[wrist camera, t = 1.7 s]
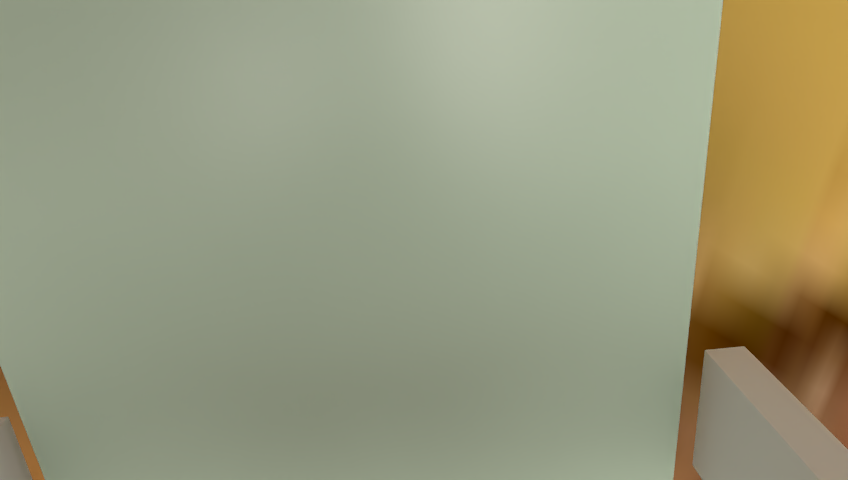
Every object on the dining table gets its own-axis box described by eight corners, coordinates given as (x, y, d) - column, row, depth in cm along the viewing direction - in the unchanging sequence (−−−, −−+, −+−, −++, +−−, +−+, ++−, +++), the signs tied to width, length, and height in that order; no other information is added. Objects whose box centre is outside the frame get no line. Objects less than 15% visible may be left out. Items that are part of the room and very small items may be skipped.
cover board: (-65, 1, 10) (-141, 5, 9) (680, -57, 10) (730, -62, 9) (166, 666, 16) (145, 734, 15) (628, 615, 17) (652, 678, 15)
